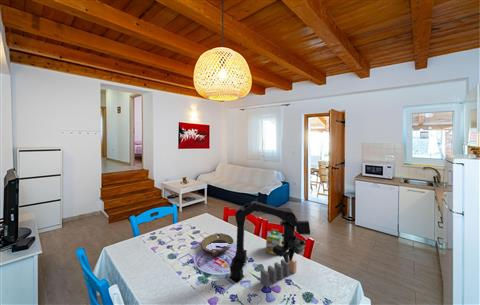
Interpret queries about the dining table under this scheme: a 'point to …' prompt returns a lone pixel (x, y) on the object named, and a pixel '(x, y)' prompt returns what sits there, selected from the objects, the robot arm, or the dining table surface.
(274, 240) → the chalk box
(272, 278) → the domino
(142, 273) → the dining table surface
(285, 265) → the domino
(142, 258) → the dining table surface
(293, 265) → the tan rectangular block
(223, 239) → the olive oval ring
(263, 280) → the domino
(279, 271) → the domino
